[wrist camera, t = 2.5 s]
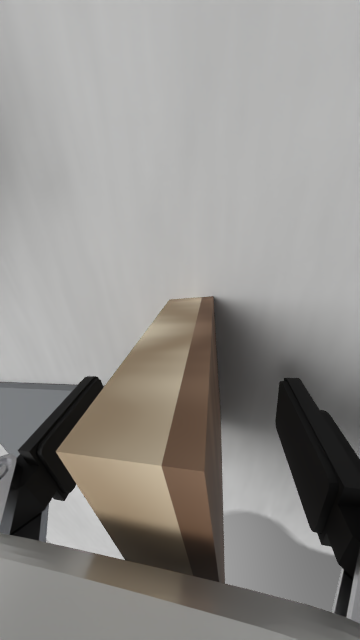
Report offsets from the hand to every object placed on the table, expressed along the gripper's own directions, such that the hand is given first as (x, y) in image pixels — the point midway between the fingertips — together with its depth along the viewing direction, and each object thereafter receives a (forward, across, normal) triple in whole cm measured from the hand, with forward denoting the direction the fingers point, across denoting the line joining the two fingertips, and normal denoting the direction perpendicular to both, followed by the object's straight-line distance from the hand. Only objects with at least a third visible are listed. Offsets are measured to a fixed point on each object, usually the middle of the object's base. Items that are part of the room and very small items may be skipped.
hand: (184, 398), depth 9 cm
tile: (+3, -1, 0) cm, 3 cm away
